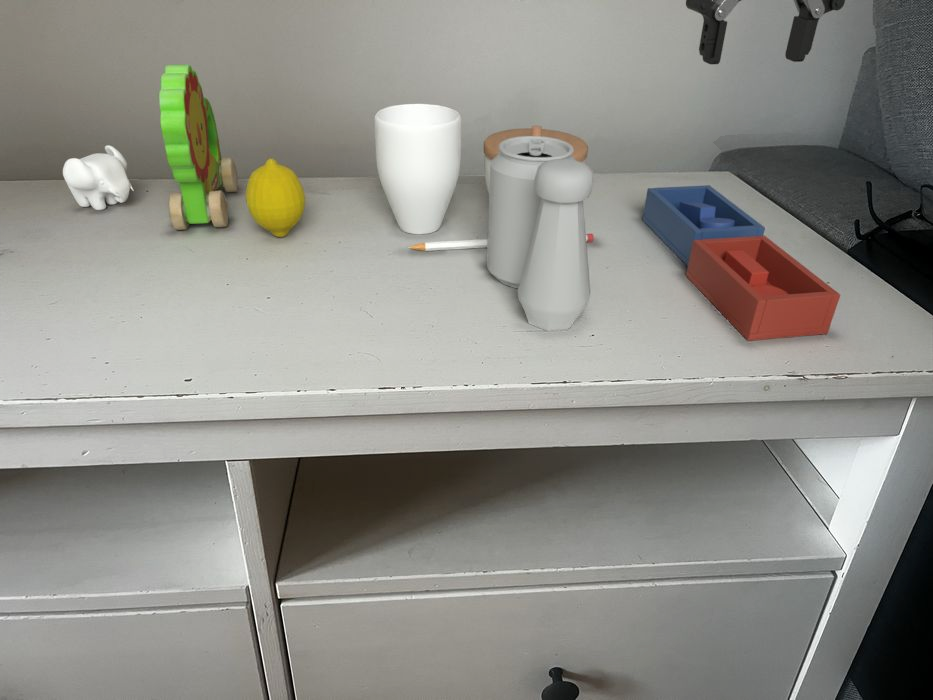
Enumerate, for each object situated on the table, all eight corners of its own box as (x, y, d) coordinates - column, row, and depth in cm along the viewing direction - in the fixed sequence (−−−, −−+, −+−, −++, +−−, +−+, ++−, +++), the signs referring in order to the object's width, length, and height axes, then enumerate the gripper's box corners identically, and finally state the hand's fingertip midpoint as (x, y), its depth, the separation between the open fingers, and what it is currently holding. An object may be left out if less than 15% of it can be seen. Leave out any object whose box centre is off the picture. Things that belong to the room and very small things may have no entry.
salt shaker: (595, 311, 61) (615, 158, 53) (574, 343, 56) (593, 182, 49) (530, 295, 63) (541, 147, 55) (505, 326, 58) (514, 169, 51)
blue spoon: (670, 225, 75) (672, 201, 74) (699, 223, 75) (701, 200, 74) (708, 238, 67) (710, 213, 67) (739, 236, 68) (742, 211, 67)
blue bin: (702, 216, 78) (709, 185, 76) (756, 262, 69) (765, 227, 67) (642, 220, 77) (647, 187, 75) (688, 267, 68) (695, 231, 66)
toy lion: (193, 187, 83) (165, 46, 75) (241, 185, 84) (220, 45, 75) (166, 245, 70) (129, 81, 61) (224, 242, 70) (196, 80, 62)
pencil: (593, 242, 72) (594, 236, 72) (407, 252, 69) (407, 246, 69) (590, 238, 73) (591, 232, 72) (406, 249, 70) (406, 242, 69)
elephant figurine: (108, 222, 74) (93, 166, 71) (49, 210, 76) (32, 155, 73) (155, 200, 79) (143, 147, 76) (98, 189, 82) (84, 137, 78)
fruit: (303, 221, 75) (295, 145, 71) (313, 243, 71) (305, 163, 66) (249, 228, 73) (237, 150, 69) (255, 250, 69) (243, 169, 65)
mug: (462, 242, 72) (464, 126, 65) (378, 243, 71) (372, 126, 65) (455, 198, 82) (456, 94, 75) (381, 198, 81) (376, 94, 75)
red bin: (755, 270, 67) (764, 235, 66) (827, 334, 58) (840, 294, 56) (685, 275, 66) (693, 239, 64) (747, 340, 57) (758, 301, 55)
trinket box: (460, 210, 78) (462, 123, 73) (530, 189, 84) (536, 107, 79) (530, 243, 72) (537, 149, 67) (600, 217, 78) (612, 129, 73)
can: (480, 289, 63) (484, 155, 57) (491, 253, 70) (497, 128, 63) (566, 297, 62) (580, 161, 56) (569, 260, 69) (583, 134, 62)
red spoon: (712, 275, 65) (717, 251, 64) (744, 273, 66) (751, 248, 64) (757, 319, 59) (764, 293, 57) (792, 316, 59) (800, 290, 58)
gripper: (738, -150, 55) (699, 73, 64) (905, -148, 57) (845, 67, 66) (695, -147, 61) (665, 56, 70) (847, -145, 63) (799, 51, 72)
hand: (752, 61), depth 68 cm, fingers open, 8 cm apart
